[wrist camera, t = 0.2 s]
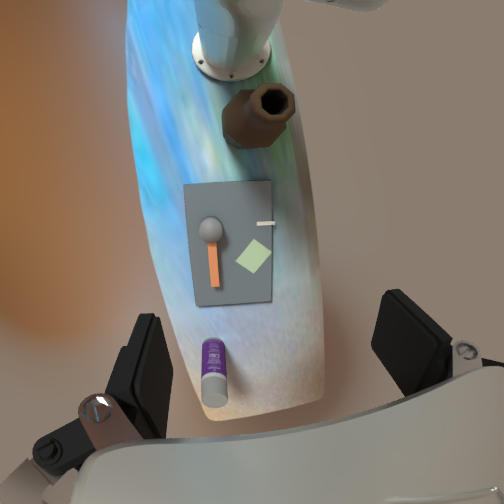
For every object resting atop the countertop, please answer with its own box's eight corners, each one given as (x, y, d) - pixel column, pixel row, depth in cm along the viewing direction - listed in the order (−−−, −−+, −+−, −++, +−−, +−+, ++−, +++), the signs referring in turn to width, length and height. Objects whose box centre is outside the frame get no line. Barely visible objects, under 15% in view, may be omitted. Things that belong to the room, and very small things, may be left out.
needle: (199, 216, 43) (198, 221, 41) (221, 215, 44) (221, 219, 41) (205, 282, 48) (204, 290, 45) (225, 281, 48) (226, 288, 46)
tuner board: (184, 184, 43) (183, 185, 41) (273, 180, 44) (275, 181, 43) (196, 302, 51) (196, 306, 49) (272, 297, 52) (273, 301, 51)
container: (219, 334, 54) (221, 389, 40) (227, 350, 56) (232, 404, 42) (198, 341, 54) (196, 396, 40) (207, 356, 56) (208, 410, 42)
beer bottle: (277, 137, 42) (339, 128, 19) (234, 158, 42) (252, 168, 20) (255, 96, 39) (296, 44, 17) (211, 116, 39) (204, 80, 17)
